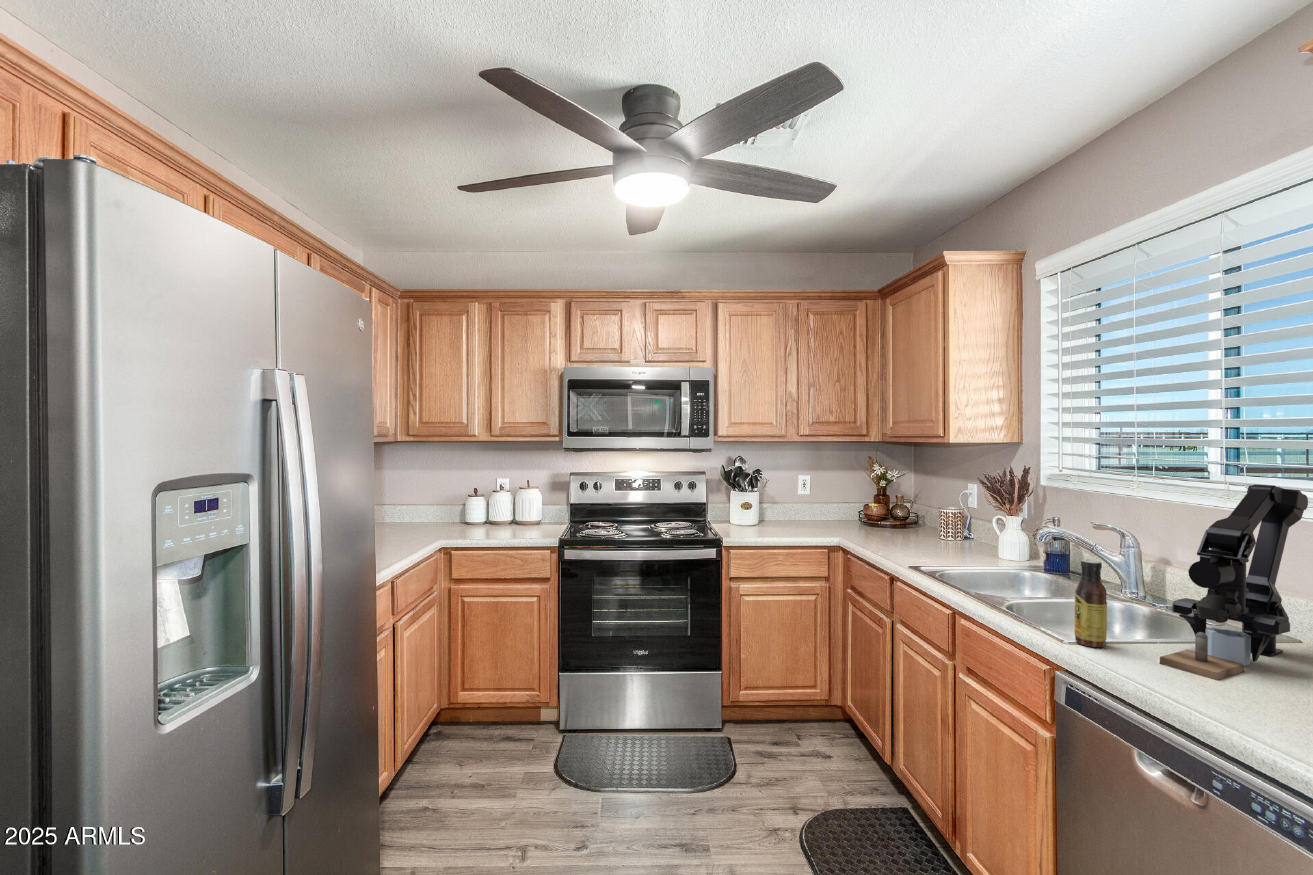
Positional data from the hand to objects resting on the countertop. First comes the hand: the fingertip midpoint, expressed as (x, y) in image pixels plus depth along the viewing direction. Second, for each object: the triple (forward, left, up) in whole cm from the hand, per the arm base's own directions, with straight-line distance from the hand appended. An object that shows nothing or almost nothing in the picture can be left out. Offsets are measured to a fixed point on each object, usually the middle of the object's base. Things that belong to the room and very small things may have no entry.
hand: (1227, 654), depth 139 cm
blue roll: (0, 0, -1) cm, 1 cm away
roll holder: (+11, 0, -1) cm, 11 cm away
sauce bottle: (+17, -19, -1) cm, 26 cm away
